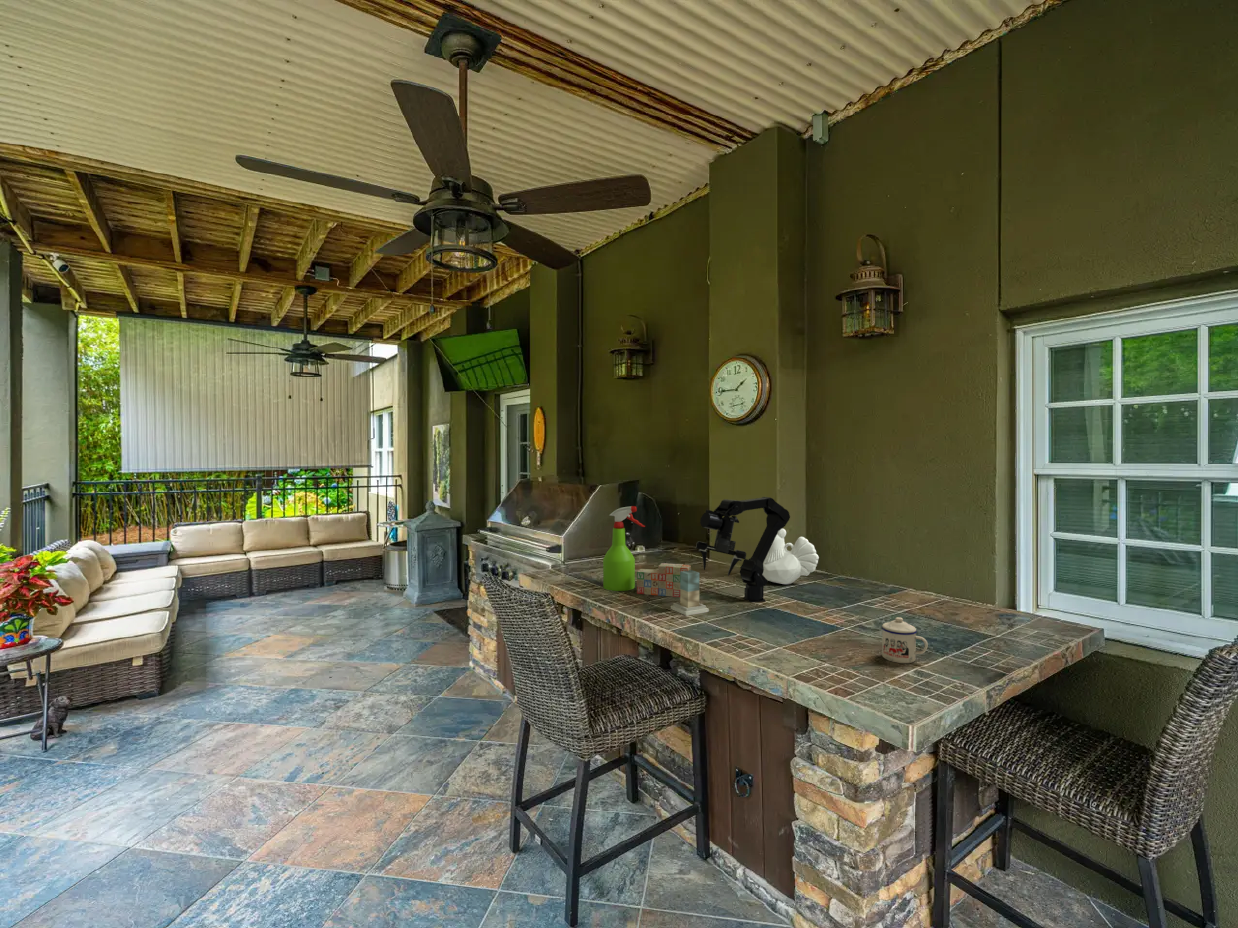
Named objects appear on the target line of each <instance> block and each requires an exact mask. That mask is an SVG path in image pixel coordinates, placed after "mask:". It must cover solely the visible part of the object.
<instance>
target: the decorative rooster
mask: <svg viewBox="0 0 1238 928" xmlns="http://www.w3.org/2000/svg"><path fill="white" fill-rule="evenodd" d="M786 536H787V530H786V529H785V528H782V529H781V530H779V531H778V533H777V535H776V537H775V539H774V541H773V544H772V546H771V548H770V550H769V552H768V554H767V556H766V558H765V560H764V562H763V567H764V571H763V574H762V575H763V576H764V577H765V578H766V579H767V582H768V581H769V582H772V583H775V584H782V585H791V584H792V583H794V582H796V581H797V580H798V579H799V578H800V577H801V576H809V575H810V574H811V573H813V572H814V571H816V569H817V568H816V567H817V566H818V564H819V559H820V557H819V555H818V554H817V550H816V548H815V545H814V544H813V543H811V542H809V540H808V539H807V538H806V537H804V536H799V537H798V538H797V539H796V541H795V542H794V544H793V543H792V542H787V543H786V542H785V538H786ZM788 547H790V548H791V550H788Z"/></svg>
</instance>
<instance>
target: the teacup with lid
mask: <svg viewBox="0 0 1238 928" xmlns="http://www.w3.org/2000/svg"><path fill="white" fill-rule="evenodd" d="M881 629H882V635H881V637H882V639H881V640H882V643H881V644H882V645H881V649H882V650H881V656H882V657H883V658H884V659H885V660H886V661H889V662H892V663H898V664H910V663H914V662H915V661H916V655H922V654H925V652H926V651H927V649H928V646H929V643H928V640H926V638H924V637H923V636H919V635H917V633H918V632H917V631H918V630H917V629H916V627H915V626H913V625H911V624H910V623H908V622H906V621H904V619H903V618H902V617H901V616H900V617H895V619H894V620H891V621H888V622H884V623H883V624H882V625H881ZM916 640H920V641H922V642H923V644H924V648H923V649H922V650H916V648H917V647H916V644H917V643H916Z"/></svg>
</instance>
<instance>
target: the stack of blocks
mask: <svg viewBox="0 0 1238 928" xmlns="http://www.w3.org/2000/svg"><path fill="white" fill-rule="evenodd" d="M689 570H692V567H691V564H683V563H667V562H666V563H665V562H661V563H660V564H659V565H658V569H646V568H640V569H638V571H636V594H637V595H648V596H661V597H674V598H680V571H689Z"/></svg>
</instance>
